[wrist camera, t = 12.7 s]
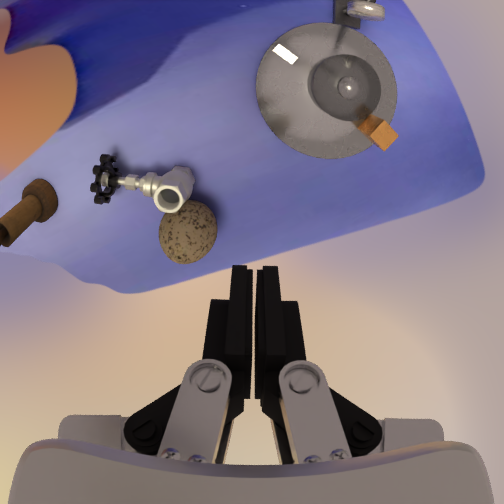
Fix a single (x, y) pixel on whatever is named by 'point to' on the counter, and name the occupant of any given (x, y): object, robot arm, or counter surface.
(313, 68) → the cover
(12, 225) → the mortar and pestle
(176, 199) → the valve
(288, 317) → the robot arm
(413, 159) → the counter surface
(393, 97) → the turntable
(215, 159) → the counter surface
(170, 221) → the decorative egg
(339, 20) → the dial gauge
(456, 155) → the counter surface
